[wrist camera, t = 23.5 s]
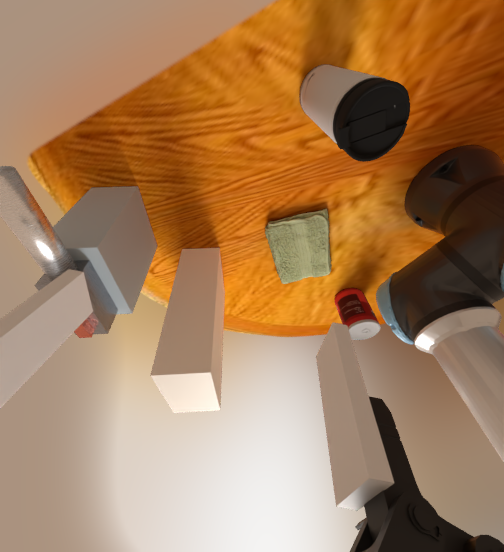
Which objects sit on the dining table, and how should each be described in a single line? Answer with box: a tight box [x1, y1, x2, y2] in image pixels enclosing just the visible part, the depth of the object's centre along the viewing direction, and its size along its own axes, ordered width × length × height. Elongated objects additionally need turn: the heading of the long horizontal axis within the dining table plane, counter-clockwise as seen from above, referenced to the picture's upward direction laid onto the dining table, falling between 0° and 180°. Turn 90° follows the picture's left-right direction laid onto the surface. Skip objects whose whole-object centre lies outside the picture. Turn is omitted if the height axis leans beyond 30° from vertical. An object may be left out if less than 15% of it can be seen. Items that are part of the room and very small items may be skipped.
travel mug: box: [300, 65, 410, 161], centre depth 29 cm, size 6×7×20 cm
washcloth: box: [265, 208, 331, 284], centre depth 54 cm, size 13×18×3 cm
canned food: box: [335, 288, 380, 340], centre depth 64 cm, size 8×8×11 cm
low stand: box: [53, 186, 157, 314], centre depth 42 cm, size 8×13×18 cm, turn 0°
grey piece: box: [0, 166, 118, 338], centre depth 29 cm, size 4×22×6 cm, turn 0°
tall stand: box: [151, 248, 225, 413], centre depth 49 cm, size 8×14×28 cm, turn 0°
